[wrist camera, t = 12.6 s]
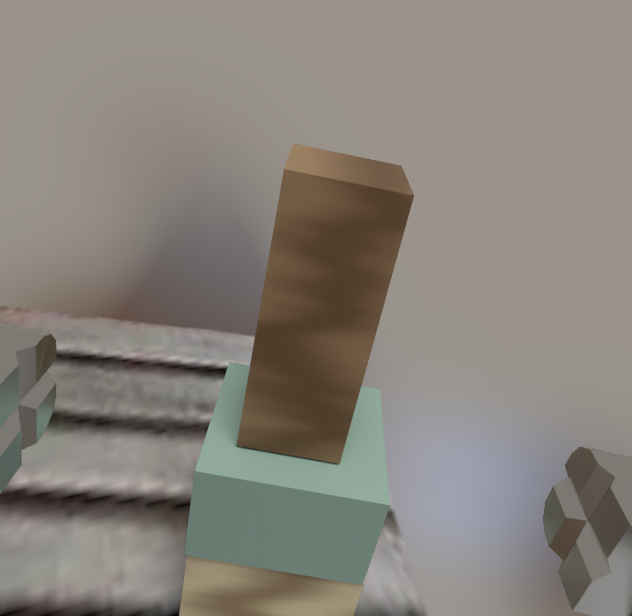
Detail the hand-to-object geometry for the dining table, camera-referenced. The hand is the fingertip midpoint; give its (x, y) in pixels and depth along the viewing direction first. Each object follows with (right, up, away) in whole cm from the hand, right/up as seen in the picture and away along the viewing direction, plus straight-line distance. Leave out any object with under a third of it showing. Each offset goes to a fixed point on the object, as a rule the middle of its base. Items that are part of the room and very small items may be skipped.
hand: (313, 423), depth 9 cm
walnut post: (-1, -4, +18) cm, 18 cm away
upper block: (-2, -8, +21) cm, 22 cm away
